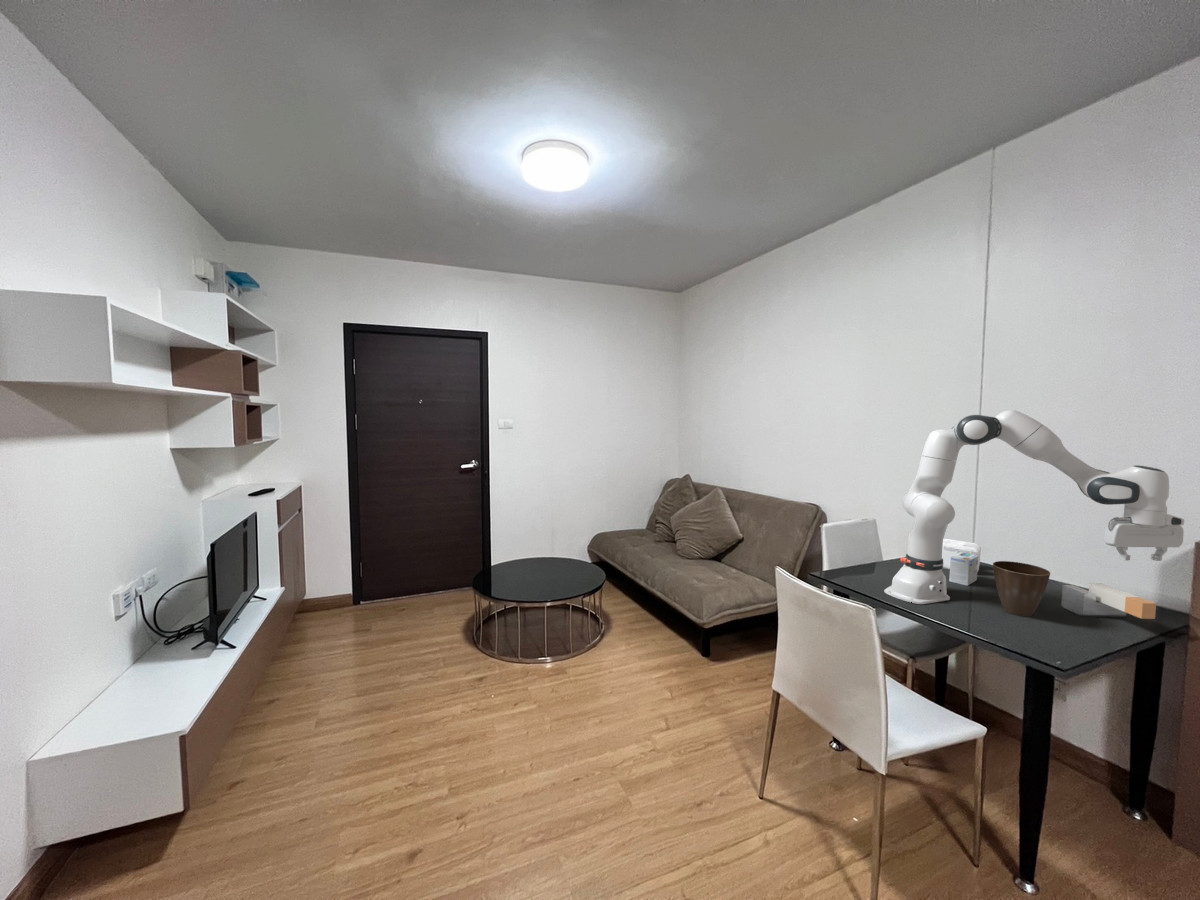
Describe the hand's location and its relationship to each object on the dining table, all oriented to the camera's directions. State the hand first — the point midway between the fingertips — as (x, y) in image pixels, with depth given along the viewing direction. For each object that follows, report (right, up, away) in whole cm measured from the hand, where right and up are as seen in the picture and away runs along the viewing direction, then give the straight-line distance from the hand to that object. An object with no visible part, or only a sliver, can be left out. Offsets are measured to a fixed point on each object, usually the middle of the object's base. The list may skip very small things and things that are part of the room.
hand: (1140, 560), depth 149 cm
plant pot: (-25, -22, +16) cm, 37 cm away
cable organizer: (-12, -18, +60) cm, 64 cm away
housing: (+1, -22, +15) cm, 27 cm away
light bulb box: (-21, -20, +46) cm, 54 cm away
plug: (0, -17, +6) cm, 18 cm away
